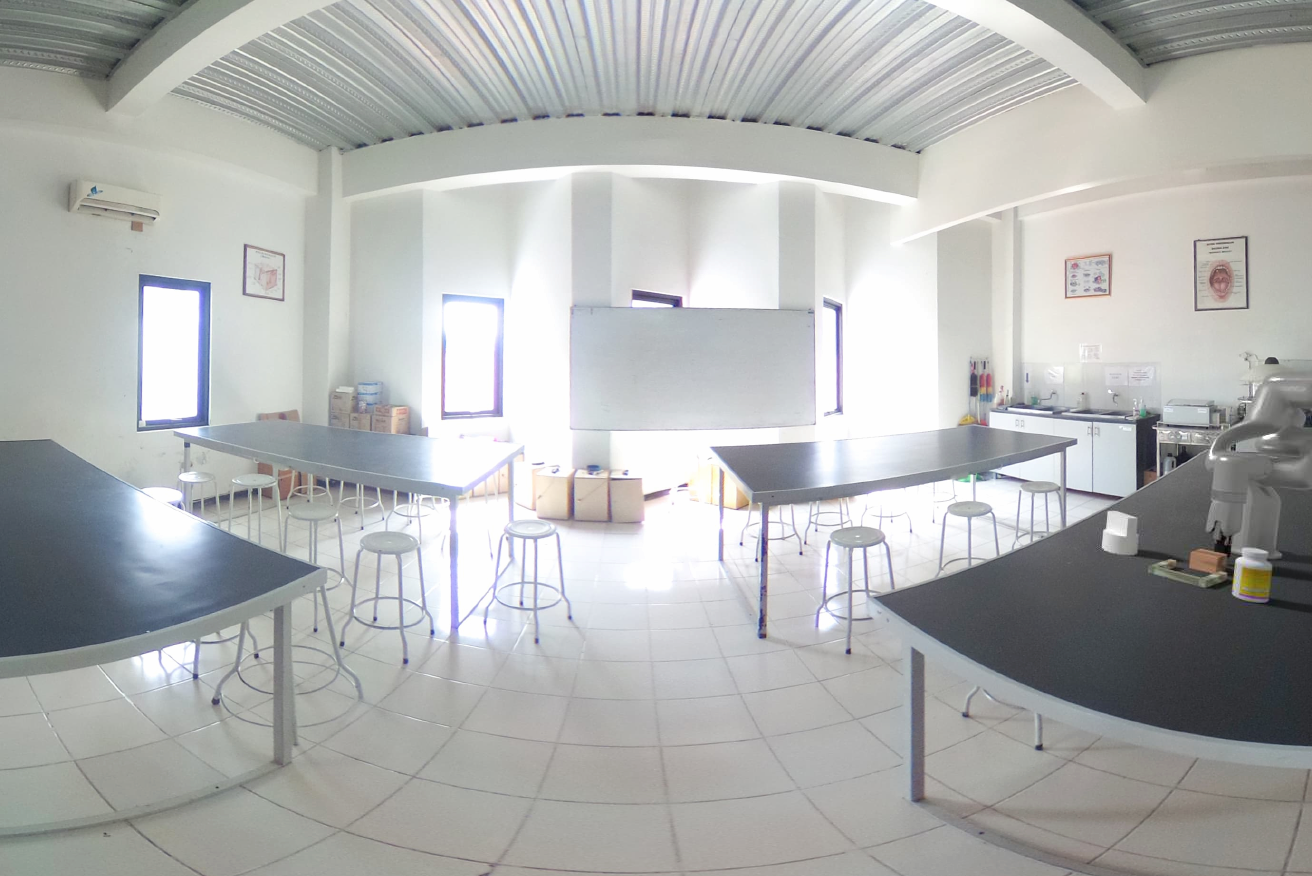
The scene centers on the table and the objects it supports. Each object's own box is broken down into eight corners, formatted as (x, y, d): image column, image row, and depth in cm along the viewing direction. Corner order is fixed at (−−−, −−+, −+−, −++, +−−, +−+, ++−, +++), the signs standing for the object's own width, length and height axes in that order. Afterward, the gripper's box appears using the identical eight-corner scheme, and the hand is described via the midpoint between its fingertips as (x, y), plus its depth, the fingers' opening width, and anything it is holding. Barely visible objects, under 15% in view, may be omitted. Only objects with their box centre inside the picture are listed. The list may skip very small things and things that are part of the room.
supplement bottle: (1275, 604, 145) (1282, 555, 143) (1244, 602, 146) (1250, 554, 145) (1254, 594, 151) (1260, 546, 150) (1224, 592, 153) (1230, 545, 151)
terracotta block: (1198, 564, 174) (1200, 548, 173) (1225, 571, 168) (1227, 554, 168) (1189, 568, 171) (1190, 551, 170) (1215, 574, 166) (1217, 557, 165)
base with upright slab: (1144, 555, 183) (1148, 518, 181) (1115, 555, 183) (1119, 518, 181) (1122, 546, 191) (1125, 510, 190) (1094, 546, 192) (1097, 511, 190)
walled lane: (1169, 565, 173) (1170, 559, 173) (1226, 579, 161) (1227, 573, 161) (1147, 572, 168) (1148, 565, 167) (1205, 587, 156) (1206, 580, 156)
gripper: (1224, 491, 177) (1217, 549, 179) (1199, 497, 171) (1193, 556, 173) (1257, 496, 170) (1250, 556, 173) (1233, 502, 164) (1226, 564, 166)
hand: (1221, 556), depth 173 cm, fingers closed
